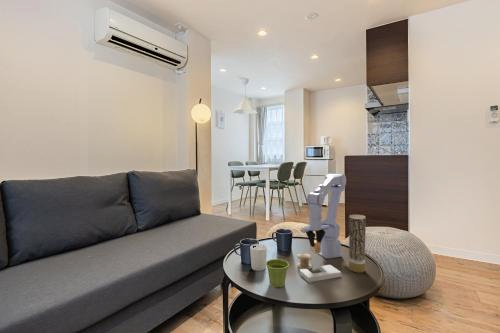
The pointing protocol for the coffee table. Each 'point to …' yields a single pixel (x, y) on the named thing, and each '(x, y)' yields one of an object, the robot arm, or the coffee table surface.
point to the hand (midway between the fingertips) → (315, 245)
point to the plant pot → (277, 272)
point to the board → (325, 273)
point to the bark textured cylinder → (357, 243)
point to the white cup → (258, 257)
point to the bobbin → (304, 261)
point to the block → (315, 247)
